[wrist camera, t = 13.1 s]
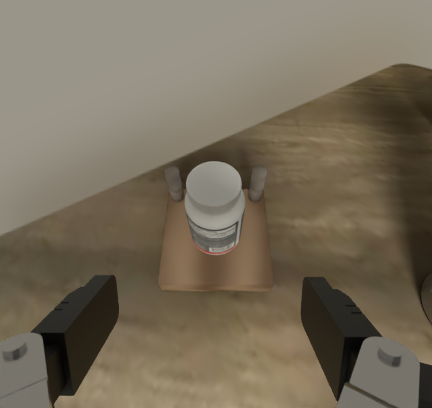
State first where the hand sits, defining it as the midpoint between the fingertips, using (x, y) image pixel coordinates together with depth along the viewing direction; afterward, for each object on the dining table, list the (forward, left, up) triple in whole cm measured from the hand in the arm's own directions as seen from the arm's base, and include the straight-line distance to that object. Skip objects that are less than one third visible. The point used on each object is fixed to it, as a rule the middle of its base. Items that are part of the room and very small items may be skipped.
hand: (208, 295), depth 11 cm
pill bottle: (0, -11, -16) cm, 19 cm away
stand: (0, -11, -19) cm, 22 cm away
